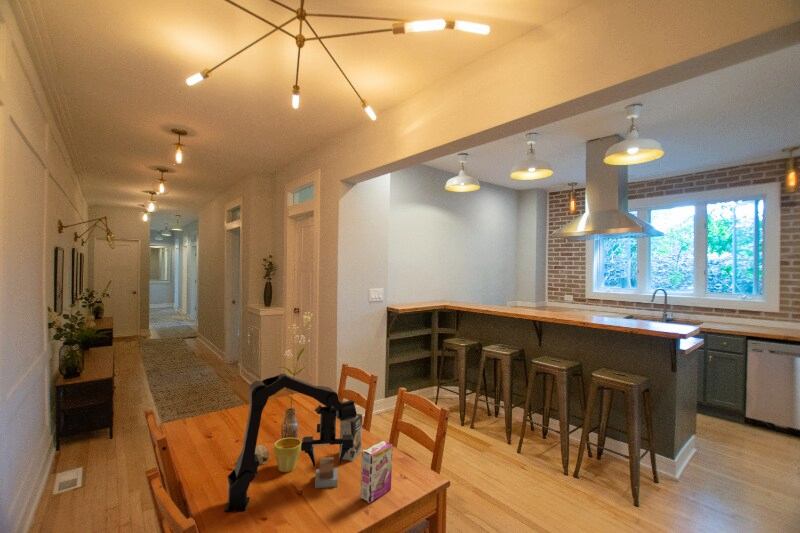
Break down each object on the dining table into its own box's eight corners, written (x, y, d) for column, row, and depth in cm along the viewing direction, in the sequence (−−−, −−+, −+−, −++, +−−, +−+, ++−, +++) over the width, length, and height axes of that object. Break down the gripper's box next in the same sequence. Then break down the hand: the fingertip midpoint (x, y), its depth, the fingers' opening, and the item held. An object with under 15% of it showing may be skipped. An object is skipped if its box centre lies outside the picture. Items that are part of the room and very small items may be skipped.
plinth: (337, 486, 134) (337, 479, 134) (314, 488, 132) (314, 481, 132) (337, 474, 142) (337, 467, 142) (316, 476, 140) (316, 469, 140)
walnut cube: (333, 477, 135) (333, 463, 135) (319, 478, 134) (319, 464, 134) (333, 470, 140) (333, 457, 140) (320, 471, 139) (320, 457, 139)
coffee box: (352, 461, 152) (353, 422, 152) (338, 458, 154) (339, 419, 154) (362, 451, 160) (362, 414, 160) (348, 449, 162) (349, 412, 162)
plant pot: (299, 459, 153) (300, 435, 153) (302, 472, 143) (303, 446, 143) (273, 463, 149) (273, 439, 149) (274, 477, 139) (274, 450, 139)
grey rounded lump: (254, 477, 145) (263, 460, 144) (234, 463, 147) (242, 446, 146) (268, 465, 155) (276, 448, 154) (248, 451, 157) (256, 435, 156)
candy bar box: (370, 504, 124) (371, 455, 124) (359, 498, 127) (360, 450, 127) (392, 490, 132) (393, 443, 133) (381, 484, 135) (382, 439, 136)
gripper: (352, 413, 147) (351, 453, 147) (304, 415, 144) (303, 456, 144) (353, 425, 136) (352, 468, 136) (301, 427, 133) (300, 471, 133)
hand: (327, 465), depth 137 cm, fingers open, 9 cm apart
